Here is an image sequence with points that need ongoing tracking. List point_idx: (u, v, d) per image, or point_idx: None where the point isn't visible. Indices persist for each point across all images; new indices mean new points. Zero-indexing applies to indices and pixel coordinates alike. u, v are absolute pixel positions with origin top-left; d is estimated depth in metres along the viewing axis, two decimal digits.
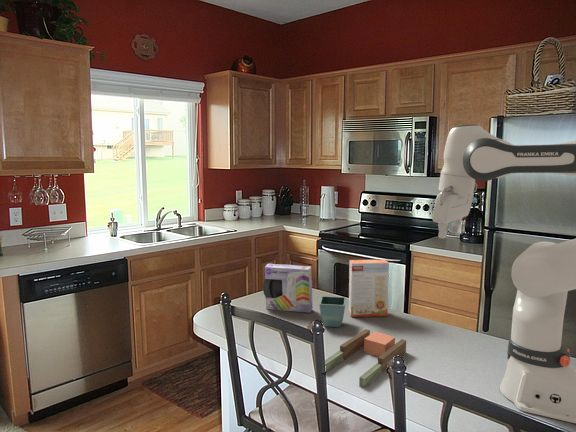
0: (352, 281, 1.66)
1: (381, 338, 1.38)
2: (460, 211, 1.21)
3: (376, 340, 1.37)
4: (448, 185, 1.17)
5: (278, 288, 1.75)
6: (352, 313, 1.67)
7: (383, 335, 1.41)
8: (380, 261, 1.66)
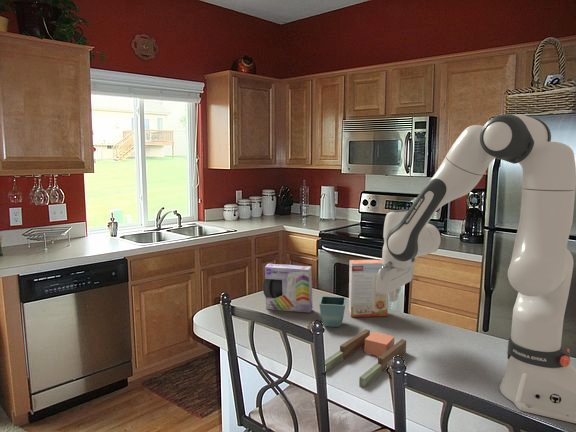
0: (352, 281, 1.66)
1: (381, 338, 1.38)
2: (401, 280, 1.44)
3: (377, 340, 1.37)
4: (388, 260, 1.40)
5: (278, 288, 1.75)
6: (352, 313, 1.67)
7: (382, 335, 1.41)
8: (380, 261, 1.66)
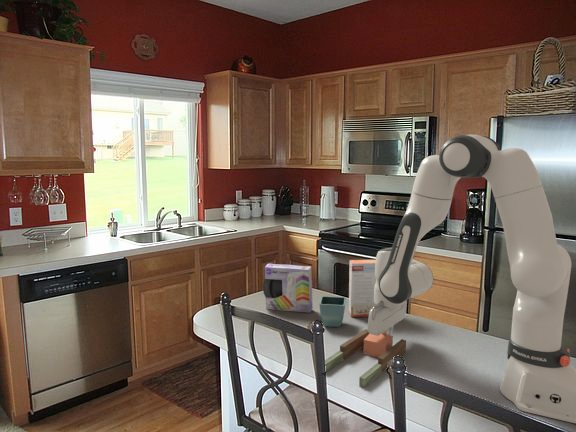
0: (352, 281, 1.66)
1: (380, 338, 1.38)
2: (394, 318, 1.42)
3: (376, 340, 1.36)
4: (379, 300, 1.38)
5: (278, 288, 1.75)
6: (352, 313, 1.67)
7: (381, 335, 1.40)
8: None
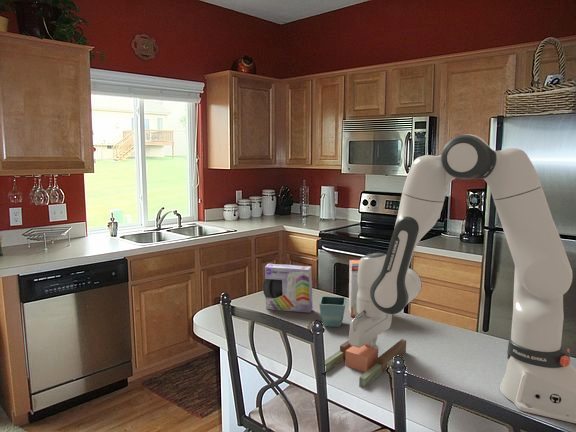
0: (352, 281, 1.66)
1: (363, 350, 1.29)
2: (378, 329, 1.33)
3: (358, 352, 1.28)
4: (362, 309, 1.29)
5: (278, 288, 1.75)
6: (352, 313, 1.67)
7: (366, 346, 1.32)
8: None
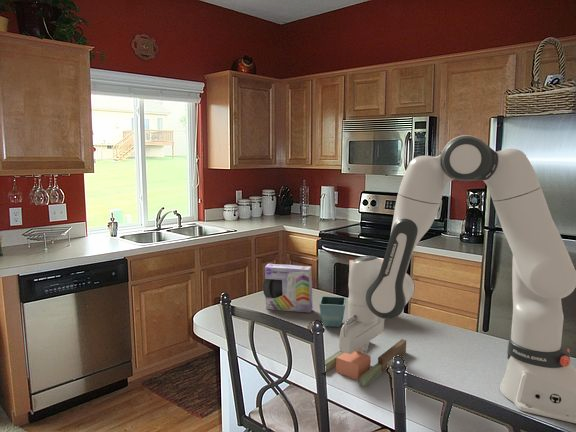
0: None
1: (355, 357, 1.26)
2: (370, 334, 1.29)
3: (349, 359, 1.24)
4: (353, 314, 1.25)
5: (278, 288, 1.75)
6: None
7: (358, 353, 1.28)
8: None
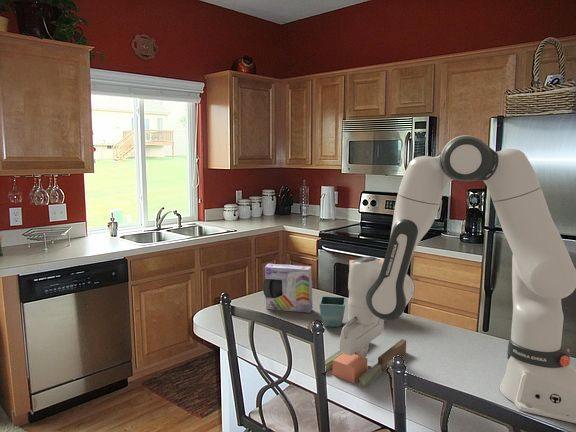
0: None
1: (351, 360, 1.24)
2: (370, 335, 1.29)
3: (345, 362, 1.23)
4: (353, 315, 1.25)
5: (278, 288, 1.75)
6: None
7: (354, 356, 1.26)
8: (380, 261, 1.66)
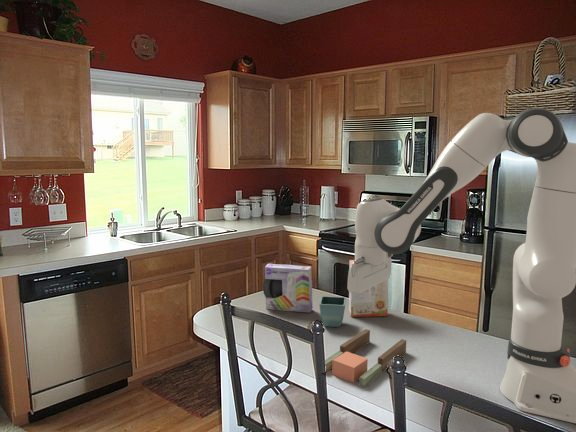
0: None
1: (351, 360, 1.24)
2: (377, 277, 1.29)
3: (345, 362, 1.23)
4: (360, 256, 1.25)
5: (278, 288, 1.75)
6: (352, 313, 1.67)
7: (355, 356, 1.26)
8: None
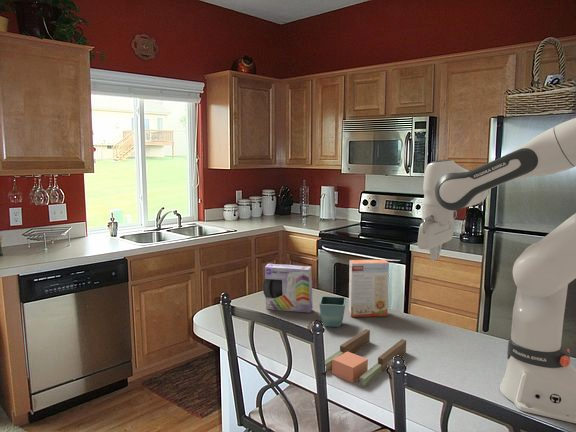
0: (352, 281, 1.66)
1: (351, 360, 1.24)
2: (443, 236, 1.35)
3: (345, 362, 1.23)
4: (429, 214, 1.31)
5: (278, 288, 1.75)
6: (352, 313, 1.67)
7: (355, 356, 1.26)
8: (380, 261, 1.66)
